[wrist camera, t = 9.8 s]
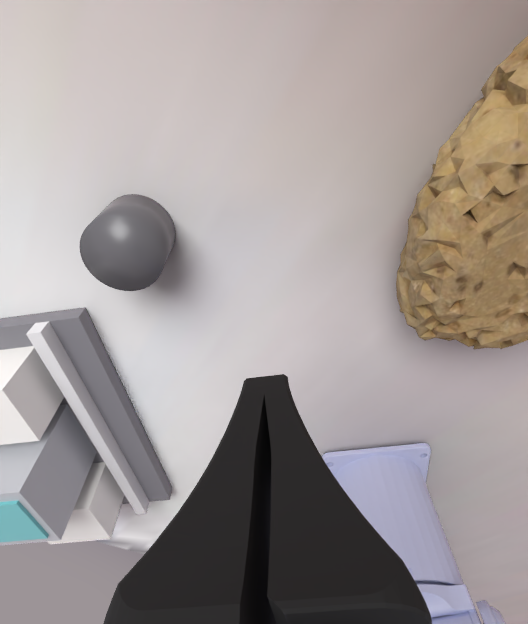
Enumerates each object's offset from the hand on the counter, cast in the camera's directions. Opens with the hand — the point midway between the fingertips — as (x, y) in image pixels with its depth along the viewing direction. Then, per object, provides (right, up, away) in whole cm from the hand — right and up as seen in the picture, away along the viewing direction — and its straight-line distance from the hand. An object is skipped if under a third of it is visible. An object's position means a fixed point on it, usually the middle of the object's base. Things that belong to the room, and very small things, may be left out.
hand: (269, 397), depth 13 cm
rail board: (-14, -5, +14) cm, 21 cm away
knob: (-6, +7, +7) cm, 12 cm away
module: (-14, -5, +14) cm, 21 cm away
